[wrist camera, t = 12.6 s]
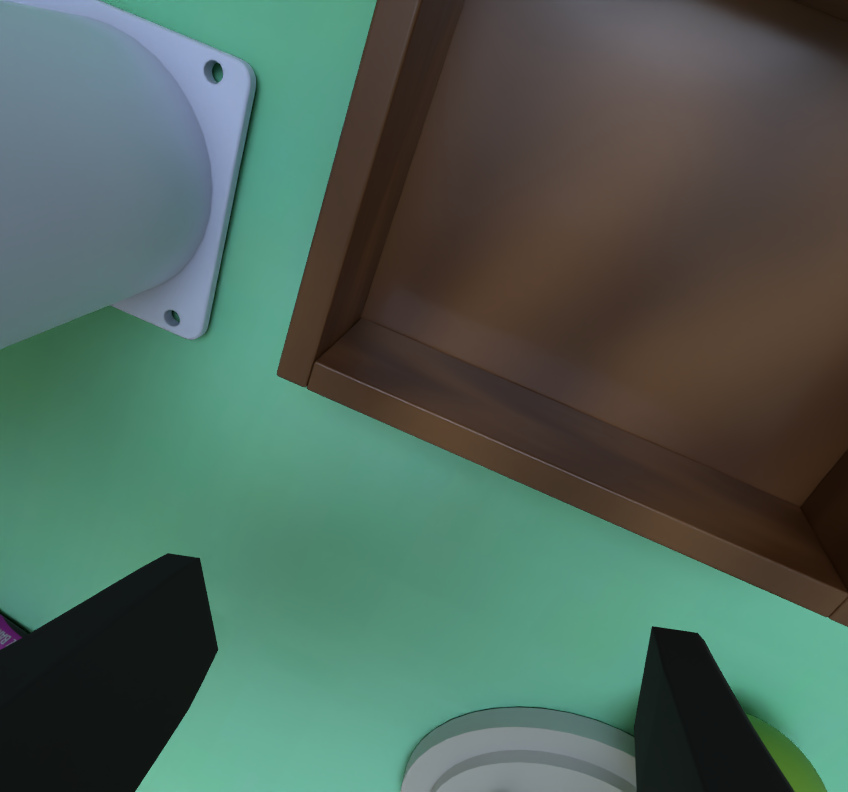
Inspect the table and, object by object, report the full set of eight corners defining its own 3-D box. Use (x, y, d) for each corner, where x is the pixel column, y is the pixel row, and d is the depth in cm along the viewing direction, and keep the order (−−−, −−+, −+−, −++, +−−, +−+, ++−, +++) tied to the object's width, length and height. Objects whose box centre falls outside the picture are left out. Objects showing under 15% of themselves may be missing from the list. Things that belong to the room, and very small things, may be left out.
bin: (335, 324, 18) (274, 376, 15) (484, -163, 13) (447, -272, 9) (802, 526, 18) (861, 634, 14) (1163, 100, 12) (1411, 94, 9)
